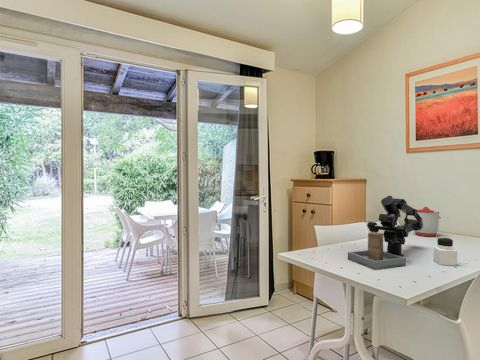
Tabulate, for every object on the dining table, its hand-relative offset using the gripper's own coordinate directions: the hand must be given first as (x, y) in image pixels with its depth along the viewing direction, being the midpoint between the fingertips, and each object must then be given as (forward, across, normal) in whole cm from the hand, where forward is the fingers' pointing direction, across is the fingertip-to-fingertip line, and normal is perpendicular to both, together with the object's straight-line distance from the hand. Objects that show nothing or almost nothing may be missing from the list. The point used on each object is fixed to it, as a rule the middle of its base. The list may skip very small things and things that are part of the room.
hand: (381, 242), depth 151 cm
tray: (+11, 0, +1) cm, 11 cm away
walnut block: (+10, 0, +1) cm, 10 cm away
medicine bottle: (-6, +22, +18) cm, 29 cm away
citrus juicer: (-53, -6, +66) cm, 85 cm away
